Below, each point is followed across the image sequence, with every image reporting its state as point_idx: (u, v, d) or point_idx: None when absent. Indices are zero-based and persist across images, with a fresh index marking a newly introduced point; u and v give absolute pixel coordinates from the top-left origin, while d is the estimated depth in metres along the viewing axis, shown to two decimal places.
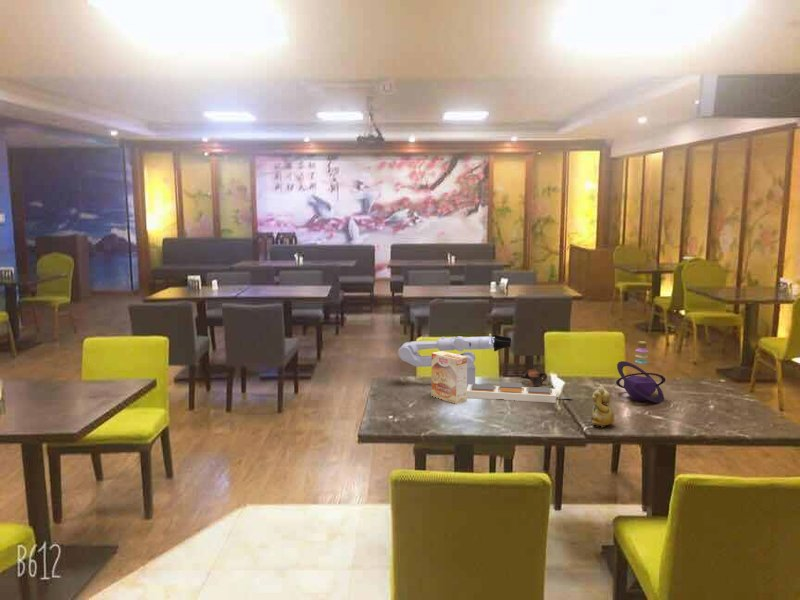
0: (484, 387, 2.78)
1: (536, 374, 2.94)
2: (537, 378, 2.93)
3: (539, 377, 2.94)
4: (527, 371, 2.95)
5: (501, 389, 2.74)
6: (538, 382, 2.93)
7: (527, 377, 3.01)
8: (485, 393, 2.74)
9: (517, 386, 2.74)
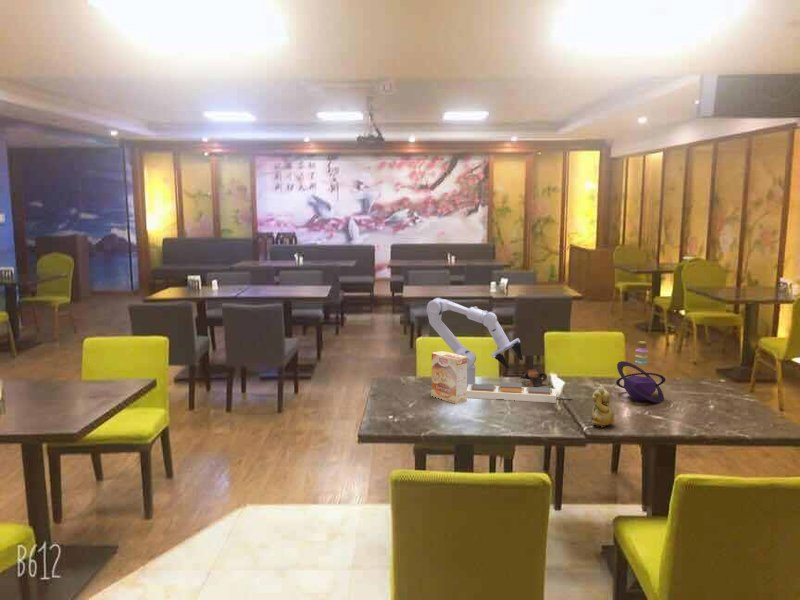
0: (484, 387, 2.78)
1: (536, 374, 2.93)
2: (537, 379, 2.93)
3: (539, 377, 2.94)
4: (527, 371, 2.95)
5: (501, 389, 2.74)
6: (538, 382, 2.93)
7: (527, 377, 3.01)
8: (485, 393, 2.74)
9: (517, 386, 2.74)
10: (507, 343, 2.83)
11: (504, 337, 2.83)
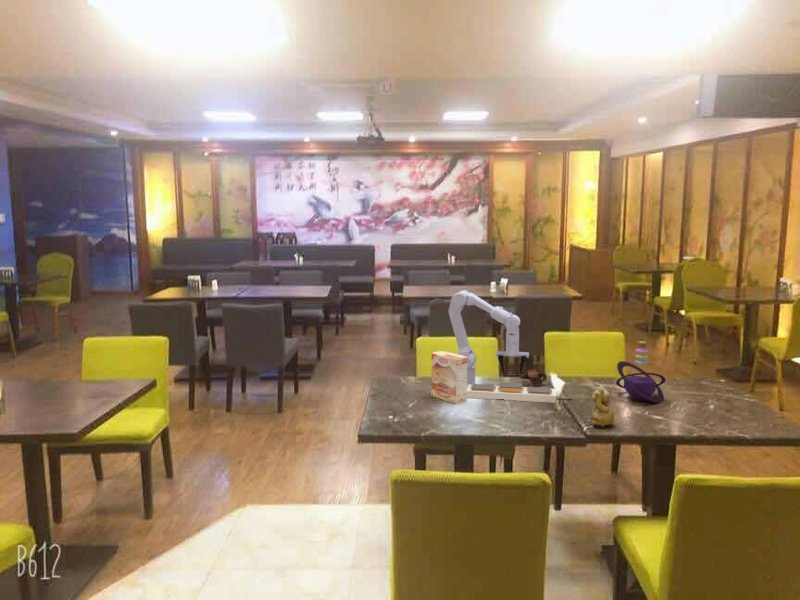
0: (484, 387, 2.78)
1: (536, 374, 2.93)
2: (537, 379, 2.93)
3: (539, 377, 2.94)
4: (527, 371, 2.95)
5: (501, 389, 2.74)
6: (538, 382, 2.92)
7: (527, 377, 3.01)
8: (485, 393, 2.74)
9: (517, 386, 2.74)
10: (513, 352, 2.81)
11: (514, 345, 2.80)
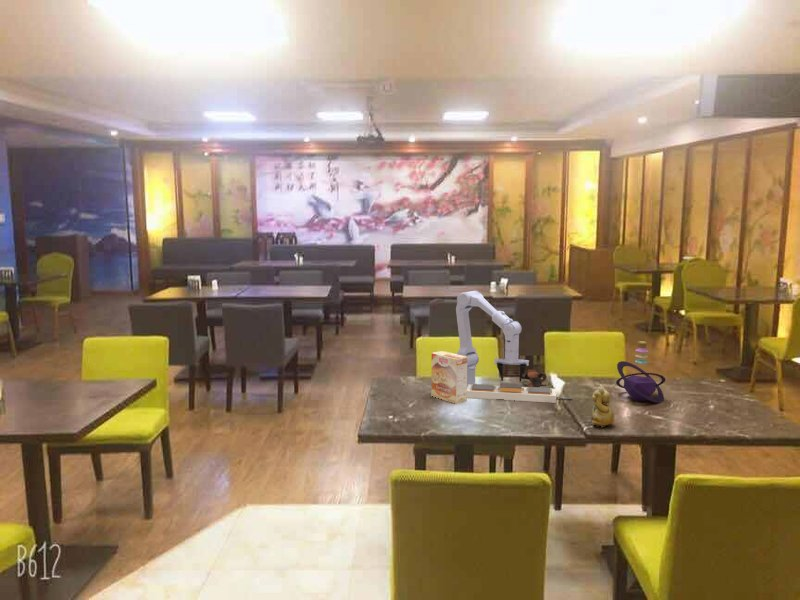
0: (484, 387, 2.78)
1: (535, 374, 2.93)
2: (537, 379, 2.92)
3: (538, 377, 2.93)
4: (526, 371, 2.94)
5: (501, 389, 2.74)
6: (537, 382, 2.92)
7: (526, 377, 3.00)
8: (485, 393, 2.74)
9: (517, 386, 2.74)
10: (513, 360, 2.72)
11: (513, 353, 2.72)
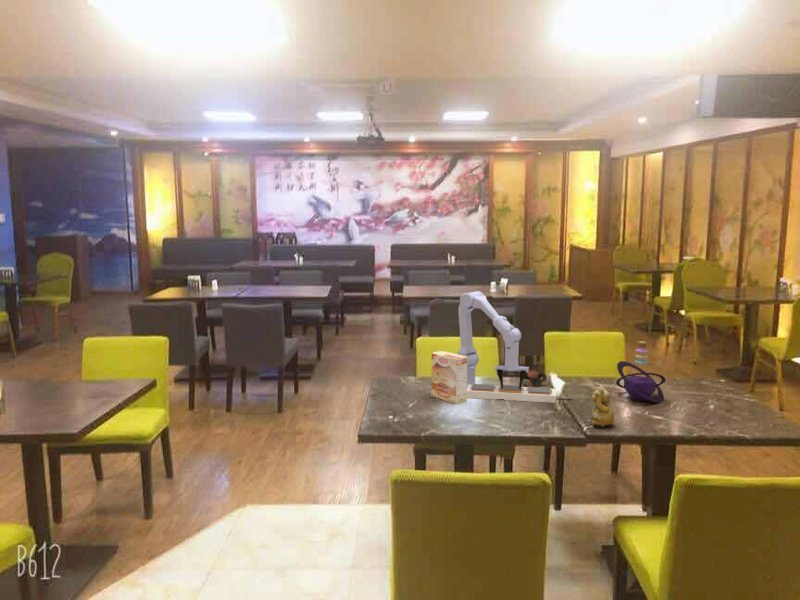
0: (484, 387, 2.78)
1: (535, 375, 2.93)
2: (537, 379, 2.92)
3: (538, 378, 2.93)
4: (526, 372, 2.94)
5: None
6: (537, 383, 2.92)
7: (526, 378, 3.00)
8: (485, 393, 2.74)
9: (517, 389, 2.74)
10: (513, 366, 2.73)
11: (513, 360, 2.72)
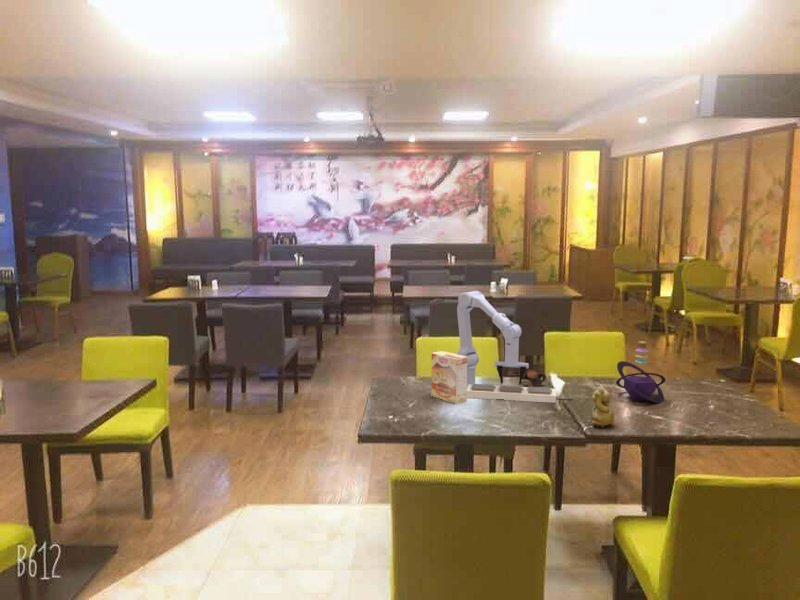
0: (484, 387, 2.78)
1: (535, 375, 2.92)
2: (536, 379, 2.92)
3: (538, 378, 2.93)
4: (526, 372, 2.94)
5: None
6: (537, 383, 2.92)
7: (526, 378, 3.00)
8: (485, 393, 2.74)
9: (517, 390, 2.74)
10: (513, 363, 2.72)
11: (513, 356, 2.72)
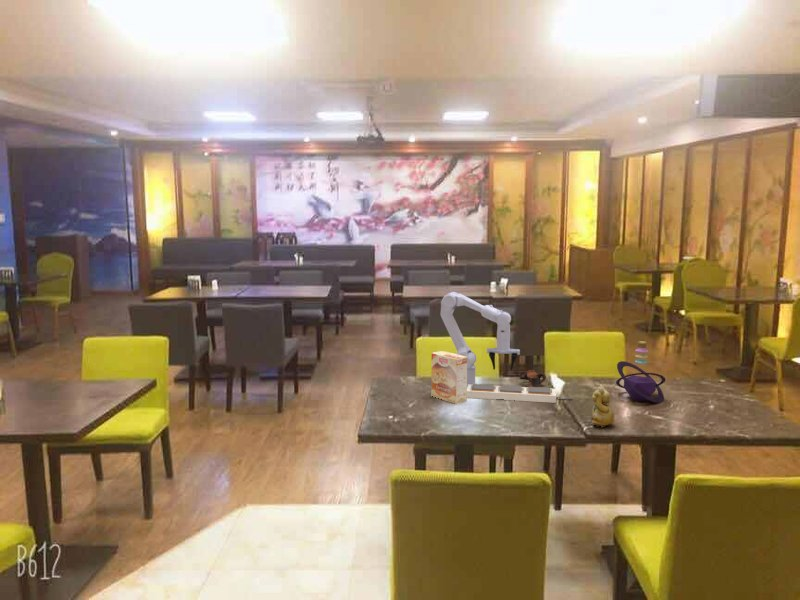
0: (484, 387, 2.78)
1: (535, 375, 2.92)
2: (536, 379, 2.92)
3: (538, 378, 2.93)
4: (526, 372, 2.94)
5: None
6: (537, 383, 2.91)
7: (525, 378, 3.00)
8: (485, 393, 2.74)
9: (517, 390, 2.74)
10: (504, 349, 2.82)
11: (505, 342, 2.82)
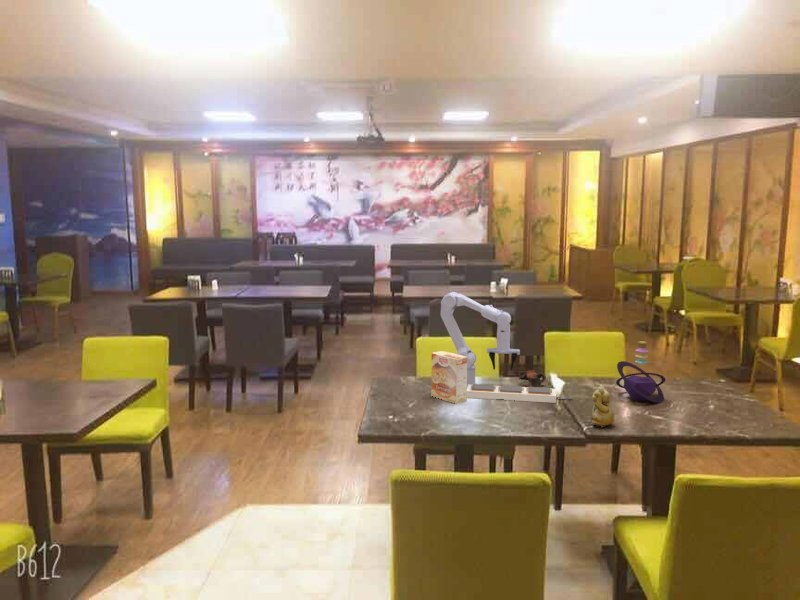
0: (484, 387, 2.78)
1: (534, 375, 2.92)
2: (536, 380, 2.91)
3: (537, 378, 2.92)
4: (525, 372, 2.93)
5: None
6: (537, 383, 2.91)
7: (525, 378, 2.99)
8: (485, 393, 2.74)
9: (517, 390, 2.74)
10: (504, 349, 2.82)
11: (505, 342, 2.82)
